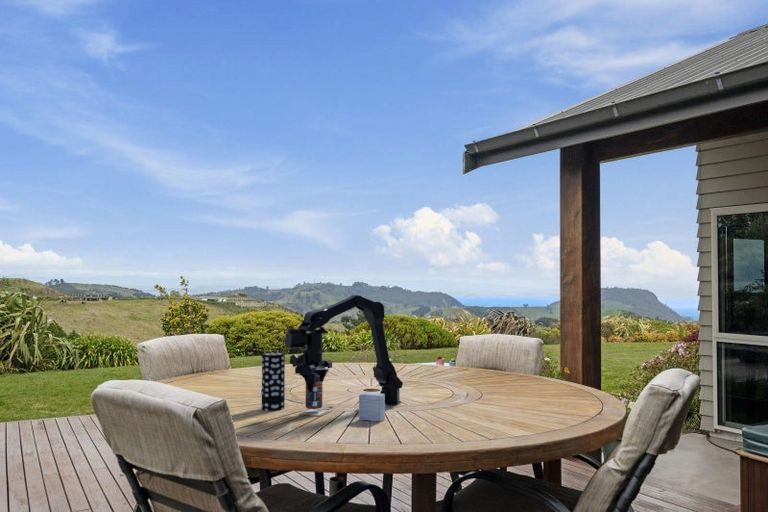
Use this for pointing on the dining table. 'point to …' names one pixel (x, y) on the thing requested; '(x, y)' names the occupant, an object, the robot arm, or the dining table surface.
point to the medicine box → (372, 406)
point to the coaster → (313, 412)
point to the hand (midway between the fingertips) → (314, 391)
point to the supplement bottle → (314, 395)
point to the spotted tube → (273, 381)
